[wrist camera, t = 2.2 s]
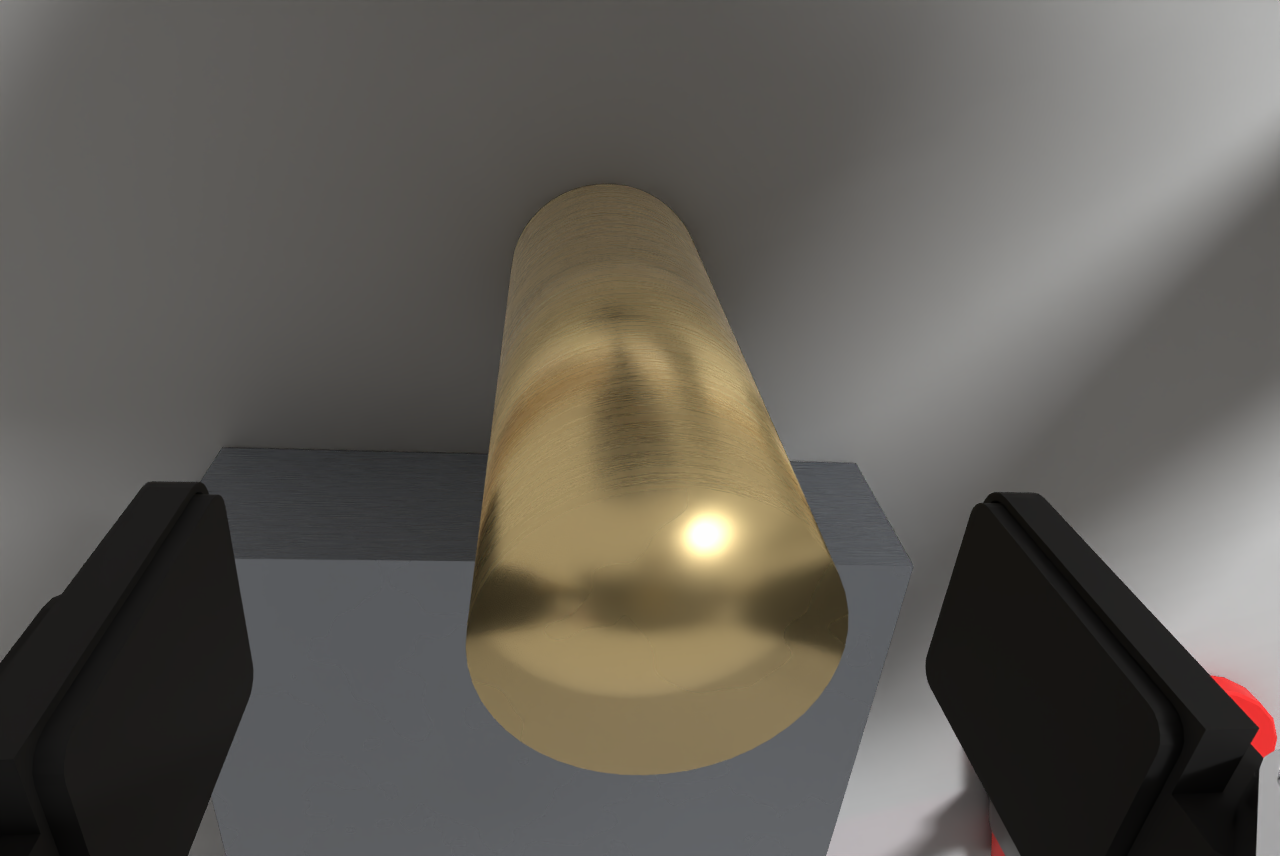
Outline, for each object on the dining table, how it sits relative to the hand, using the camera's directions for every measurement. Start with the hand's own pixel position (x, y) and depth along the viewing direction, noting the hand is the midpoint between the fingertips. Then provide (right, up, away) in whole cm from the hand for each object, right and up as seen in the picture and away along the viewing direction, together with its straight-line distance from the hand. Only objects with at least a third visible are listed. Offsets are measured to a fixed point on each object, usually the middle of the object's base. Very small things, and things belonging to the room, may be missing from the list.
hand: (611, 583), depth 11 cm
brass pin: (0, +5, +8) cm, 9 cm away
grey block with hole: (-3, -8, +15) cm, 17 cm away
